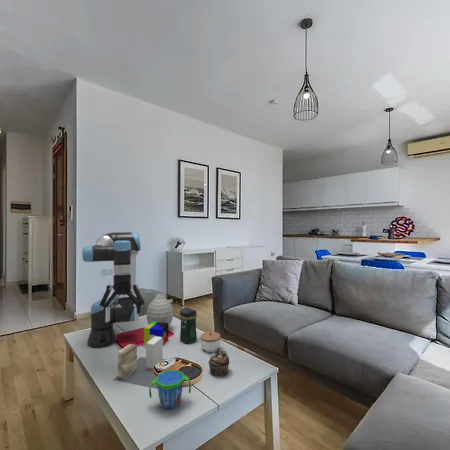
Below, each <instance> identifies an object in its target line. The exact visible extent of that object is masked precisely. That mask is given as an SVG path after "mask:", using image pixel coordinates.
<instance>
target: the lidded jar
mask: <svg viewBox="0 0 450 450" xmlns="http://www.w3.org/2000/svg"><path fill="white" fill-rule="evenodd" d="M199 339H200V345H201V347H202V349H203V350H204V352H207V353H209V354H210V353H211V354H213V352H215V351H217V350H218V349H219V347H220V344H221V333H219V332H216V331H206V332H203V333H201V334H200V337H199Z"/></svg>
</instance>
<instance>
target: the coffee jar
mask: <svg viewBox="0 0 450 450" xmlns="http://www.w3.org/2000/svg"><path fill="white" fill-rule="evenodd" d="M197 316H198V315H197V310H196V309H193V308H191V307H190V308H189V307H187V306H186V307H183V308H181V309H180V311H179V317H180V333H179V339H180V341H181V342H183V343H184V344H193V343H196V341H197V340H198V339H197V337H198V336H197Z"/></svg>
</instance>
